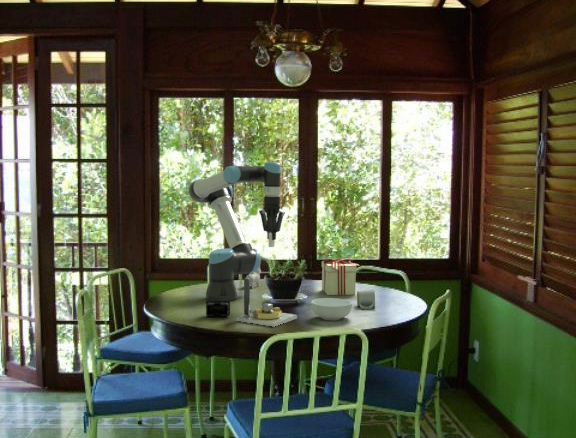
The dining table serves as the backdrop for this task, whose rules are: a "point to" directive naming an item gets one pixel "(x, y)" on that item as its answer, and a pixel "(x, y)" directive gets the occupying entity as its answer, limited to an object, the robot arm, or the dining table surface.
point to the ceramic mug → (366, 299)
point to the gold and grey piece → (258, 312)
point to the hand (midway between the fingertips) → (271, 246)
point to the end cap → (217, 309)
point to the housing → (267, 322)
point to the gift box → (339, 276)
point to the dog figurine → (254, 278)
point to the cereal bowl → (331, 308)
